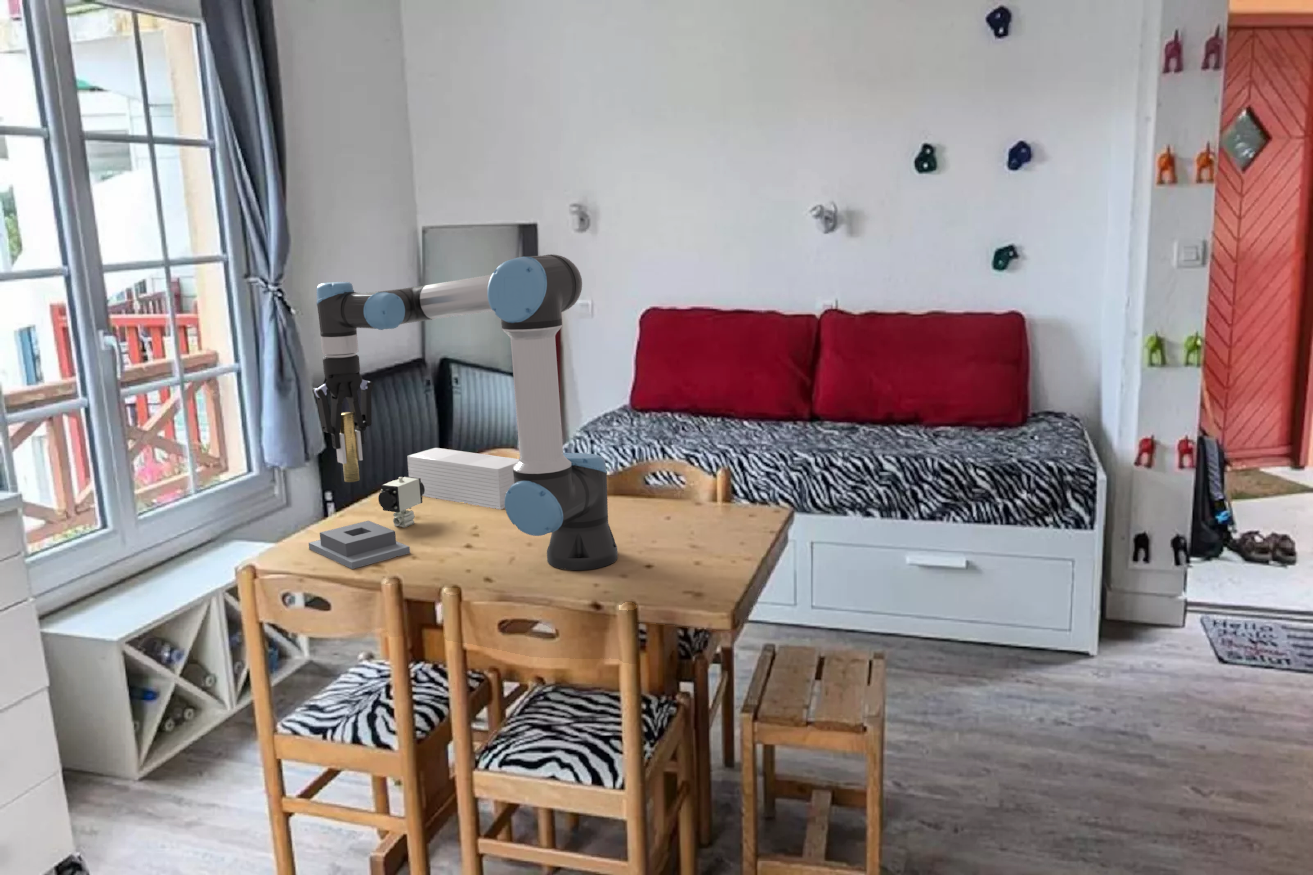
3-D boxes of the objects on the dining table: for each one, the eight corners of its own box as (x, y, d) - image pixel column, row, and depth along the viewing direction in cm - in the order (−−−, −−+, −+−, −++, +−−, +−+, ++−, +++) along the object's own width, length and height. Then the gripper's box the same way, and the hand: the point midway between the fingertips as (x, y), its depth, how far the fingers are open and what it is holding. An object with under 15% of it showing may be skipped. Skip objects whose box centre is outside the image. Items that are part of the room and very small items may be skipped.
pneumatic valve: (427, 519, 254) (424, 472, 252) (395, 533, 244) (391, 484, 241) (410, 517, 257) (406, 470, 254) (377, 530, 246) (373, 481, 244)
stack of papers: (410, 494, 278) (407, 455, 276) (438, 485, 287) (435, 447, 285) (500, 510, 261) (497, 469, 259) (527, 500, 270) (525, 459, 268)
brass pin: (362, 480, 228) (356, 413, 225) (348, 482, 226) (342, 415, 223) (355, 477, 231) (349, 411, 227) (341, 480, 228) (335, 413, 225)
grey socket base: (410, 553, 229) (408, 533, 228) (352, 569, 220) (350, 548, 219) (365, 534, 244) (363, 516, 243) (309, 549, 234) (307, 530, 233)
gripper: (366, 349, 230) (375, 451, 235) (296, 357, 219) (307, 465, 225) (383, 352, 225) (391, 456, 230) (312, 360, 214) (323, 470, 219)
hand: (350, 460), depth 227 cm, fingers closed on brass pin, 3 cm apart
